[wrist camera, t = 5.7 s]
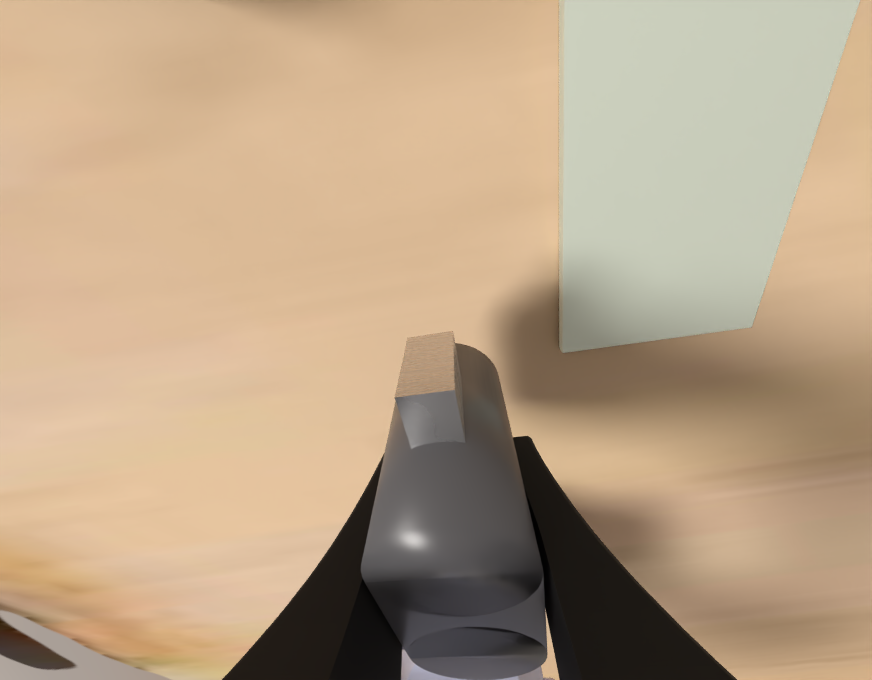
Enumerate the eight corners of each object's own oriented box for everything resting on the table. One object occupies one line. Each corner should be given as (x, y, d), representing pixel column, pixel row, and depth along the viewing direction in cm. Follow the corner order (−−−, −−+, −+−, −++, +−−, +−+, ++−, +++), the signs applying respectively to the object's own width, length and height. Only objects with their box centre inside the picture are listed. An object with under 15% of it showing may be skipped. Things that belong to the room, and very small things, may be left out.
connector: (511, 484, 14) (548, 678, 9) (432, 491, 14) (423, 681, 9) (489, 297, 10) (538, 460, 5) (378, 315, 10) (305, 483, 5)
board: (741, 321, 16) (751, 327, 16) (558, 347, 17) (562, 353, 17) (872, -97, 10) (897, -112, 9) (559, -13, 11) (564, -22, 10)
